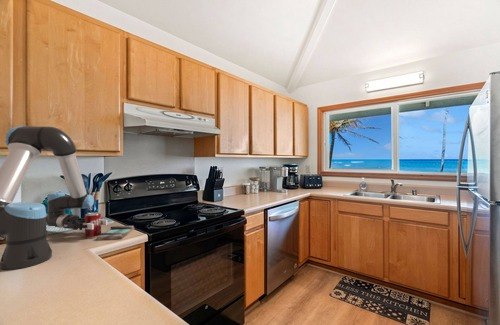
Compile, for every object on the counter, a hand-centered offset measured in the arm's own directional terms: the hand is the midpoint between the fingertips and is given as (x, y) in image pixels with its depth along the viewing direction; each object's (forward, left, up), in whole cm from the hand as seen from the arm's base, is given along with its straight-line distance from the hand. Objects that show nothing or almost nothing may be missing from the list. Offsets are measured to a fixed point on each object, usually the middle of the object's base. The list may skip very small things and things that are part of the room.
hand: (100, 224), depth 121 cm
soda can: (-4, +2, -7) cm, 8 cm away
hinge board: (+7, +4, -7) cm, 10 cm away
